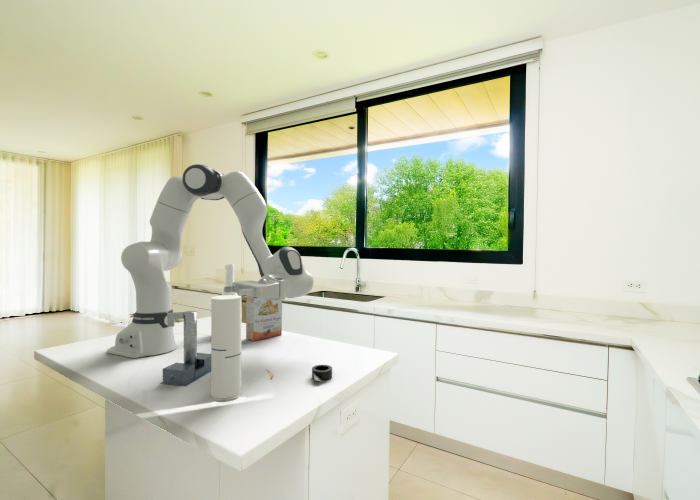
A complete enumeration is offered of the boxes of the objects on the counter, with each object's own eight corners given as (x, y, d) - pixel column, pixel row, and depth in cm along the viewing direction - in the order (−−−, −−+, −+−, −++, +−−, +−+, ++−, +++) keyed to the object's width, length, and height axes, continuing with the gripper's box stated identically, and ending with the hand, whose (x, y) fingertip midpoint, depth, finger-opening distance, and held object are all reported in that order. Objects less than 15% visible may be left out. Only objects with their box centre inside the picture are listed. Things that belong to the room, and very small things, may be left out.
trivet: (225, 382, 96) (225, 380, 96) (245, 369, 107) (245, 367, 107) (262, 386, 94) (262, 384, 94) (279, 372, 104) (279, 370, 104)
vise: (185, 390, 91) (185, 371, 91) (159, 387, 93) (159, 368, 93) (217, 370, 105) (217, 354, 105) (194, 368, 107) (194, 352, 107)
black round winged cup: (300, 379, 100) (300, 369, 100) (325, 370, 107) (325, 360, 107) (317, 387, 95) (317, 376, 94) (343, 377, 102) (343, 367, 102)
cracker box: (253, 341, 137) (253, 288, 136) (245, 338, 141) (245, 287, 140) (282, 335, 147) (282, 285, 147) (274, 332, 151) (274, 284, 151)
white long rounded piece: (227, 330, 153) (228, 262, 153) (246, 332, 150) (246, 263, 150) (212, 336, 144) (212, 264, 144) (231, 338, 141) (231, 264, 141)
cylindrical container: (216, 390, 91) (216, 295, 91) (244, 389, 92) (244, 295, 91) (207, 402, 84) (207, 299, 84) (237, 401, 85) (237, 299, 84)
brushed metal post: (197, 372, 101) (196, 310, 101) (196, 376, 98) (196, 312, 98) (168, 375, 98) (168, 312, 98) (167, 380, 95) (167, 314, 95)
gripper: (255, 275, 124) (217, 278, 114) (287, 280, 109) (246, 283, 100) (255, 293, 124) (217, 297, 115) (287, 300, 109) (246, 305, 100)
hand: (231, 291), depth 107 cm, fingers open, 8 cm apart
